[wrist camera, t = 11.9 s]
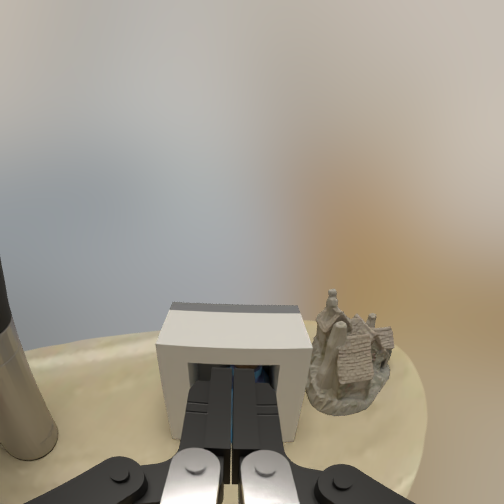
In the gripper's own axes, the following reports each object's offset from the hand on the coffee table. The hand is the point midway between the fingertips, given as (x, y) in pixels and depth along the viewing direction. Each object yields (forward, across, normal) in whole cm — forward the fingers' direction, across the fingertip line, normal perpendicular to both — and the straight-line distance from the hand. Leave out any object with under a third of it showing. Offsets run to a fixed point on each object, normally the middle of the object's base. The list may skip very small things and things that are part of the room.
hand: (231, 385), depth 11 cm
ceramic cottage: (+27, -19, +25) cm, 41 cm away
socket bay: (+19, 0, +25) cm, 31 cm away
